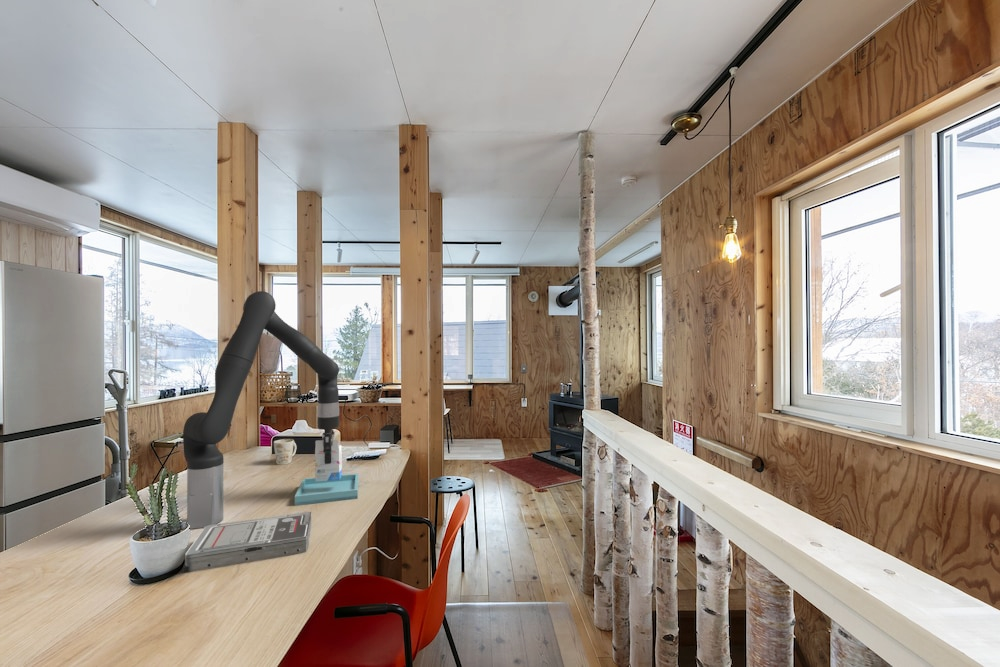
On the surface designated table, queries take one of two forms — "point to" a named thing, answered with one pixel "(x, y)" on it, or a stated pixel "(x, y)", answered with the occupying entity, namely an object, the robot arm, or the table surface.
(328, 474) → the ink box
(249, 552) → the hard drive
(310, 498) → the tray
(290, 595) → the table surface
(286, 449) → the mug
